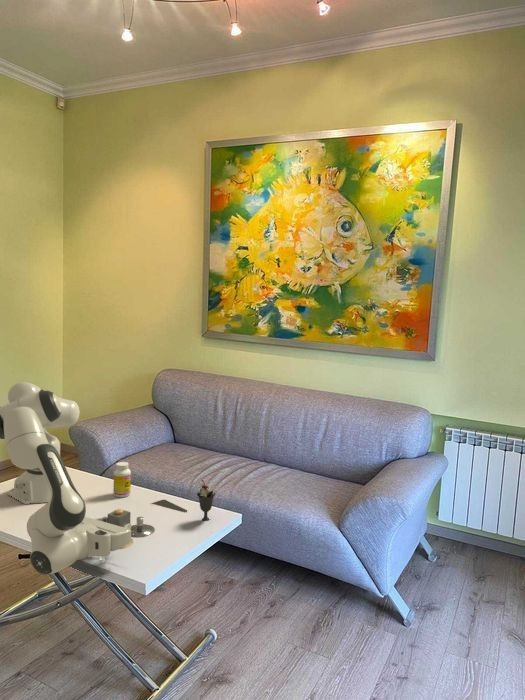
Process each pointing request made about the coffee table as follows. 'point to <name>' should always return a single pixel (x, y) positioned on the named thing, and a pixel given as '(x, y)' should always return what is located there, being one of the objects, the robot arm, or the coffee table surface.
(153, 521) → the coffee table surface
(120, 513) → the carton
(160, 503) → the smartphone
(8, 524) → the coffee table surface
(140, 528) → the grey knobbed dome
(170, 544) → the coffee table surface
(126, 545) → the coaster
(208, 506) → the sundae
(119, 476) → the supplement bottle
